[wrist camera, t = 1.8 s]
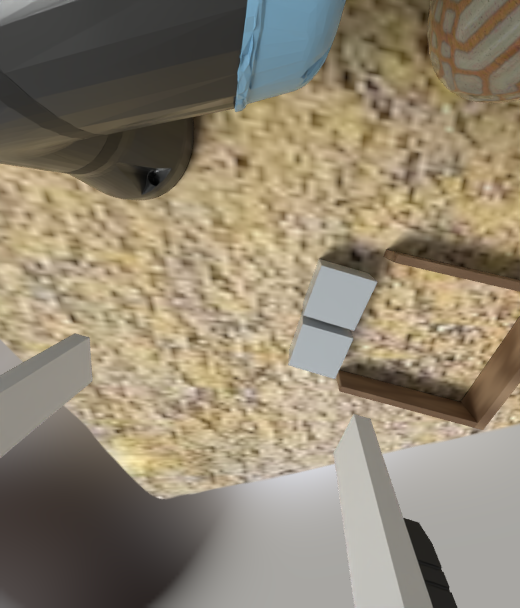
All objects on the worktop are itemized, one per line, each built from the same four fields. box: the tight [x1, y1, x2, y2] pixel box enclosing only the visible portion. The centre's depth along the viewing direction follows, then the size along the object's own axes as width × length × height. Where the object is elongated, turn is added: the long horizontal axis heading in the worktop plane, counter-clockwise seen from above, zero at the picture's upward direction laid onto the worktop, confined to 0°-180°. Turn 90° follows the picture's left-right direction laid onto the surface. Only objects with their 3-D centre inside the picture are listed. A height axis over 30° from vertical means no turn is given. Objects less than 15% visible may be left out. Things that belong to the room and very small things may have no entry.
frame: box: [336, 249, 520, 430], centre depth 29 cm, size 18×18×4 cm
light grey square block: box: [303, 259, 377, 331], centre depth 28 cm, size 6×6×4 cm
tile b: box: [288, 311, 353, 379], centre depth 31 cm, size 6×6×4 cm
